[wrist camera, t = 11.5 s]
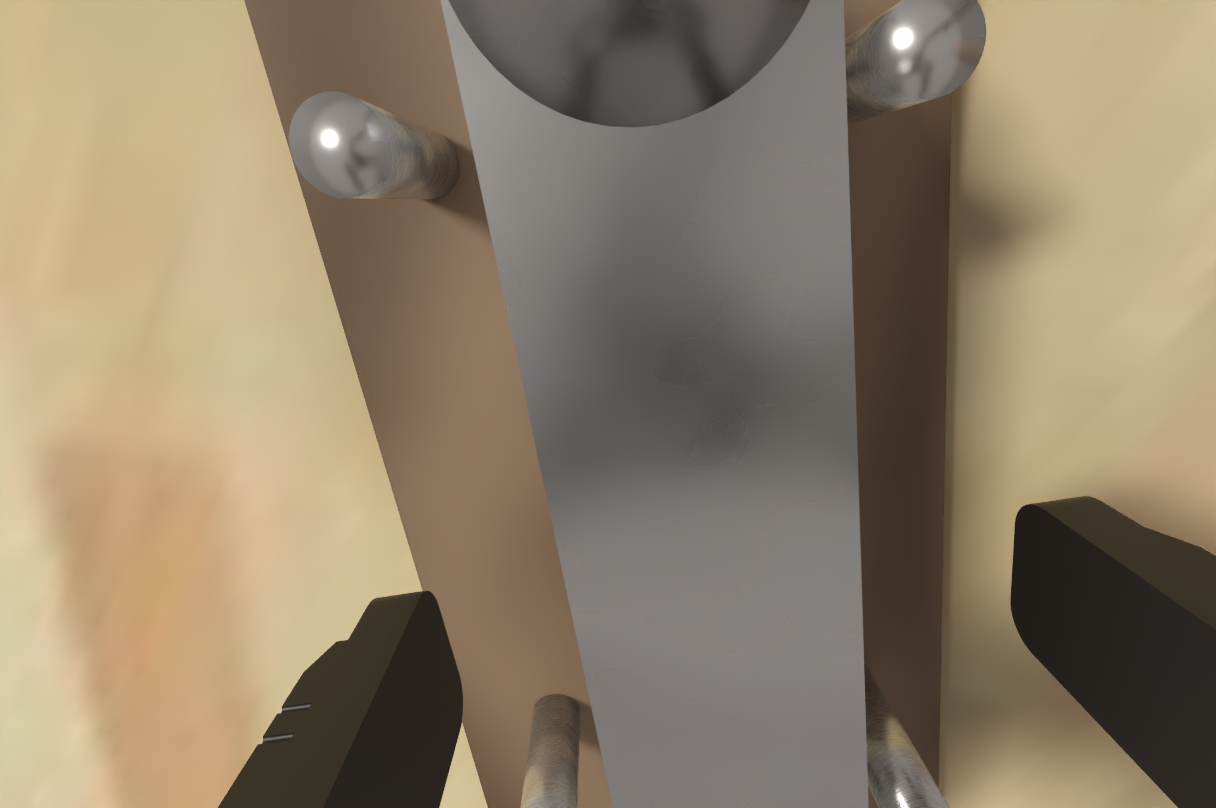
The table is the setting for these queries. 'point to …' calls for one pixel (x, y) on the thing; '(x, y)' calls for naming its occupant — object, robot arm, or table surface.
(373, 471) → the table surface
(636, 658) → the grey long metal bar
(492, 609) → the tool rest
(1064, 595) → the robot arm
